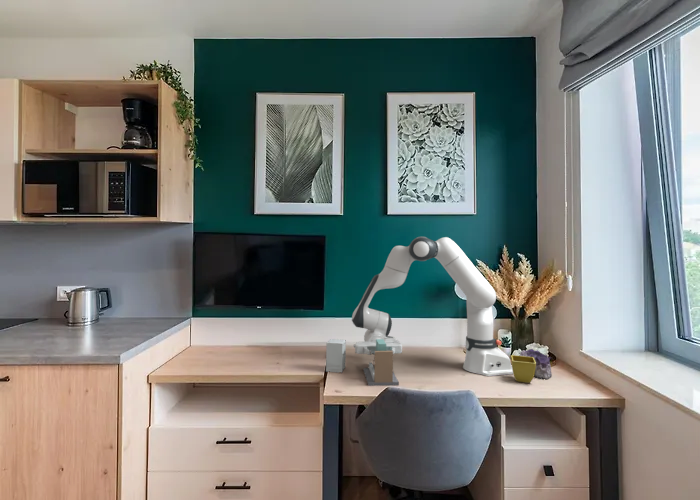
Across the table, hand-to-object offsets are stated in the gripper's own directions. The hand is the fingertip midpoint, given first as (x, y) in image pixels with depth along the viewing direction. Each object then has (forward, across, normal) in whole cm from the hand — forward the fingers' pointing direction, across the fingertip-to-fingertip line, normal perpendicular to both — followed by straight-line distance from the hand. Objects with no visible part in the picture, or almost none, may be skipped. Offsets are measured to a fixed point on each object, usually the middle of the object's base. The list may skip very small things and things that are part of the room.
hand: (380, 352), depth 160 cm
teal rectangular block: (0, 0, +9) cm, 9 cm away
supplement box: (-12, -18, +11) cm, 24 cm away
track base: (-1, 0, +11) cm, 11 cm away
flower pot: (+5, +58, +11) cm, 59 cm away
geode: (-6, +70, +11) cm, 71 cm away
